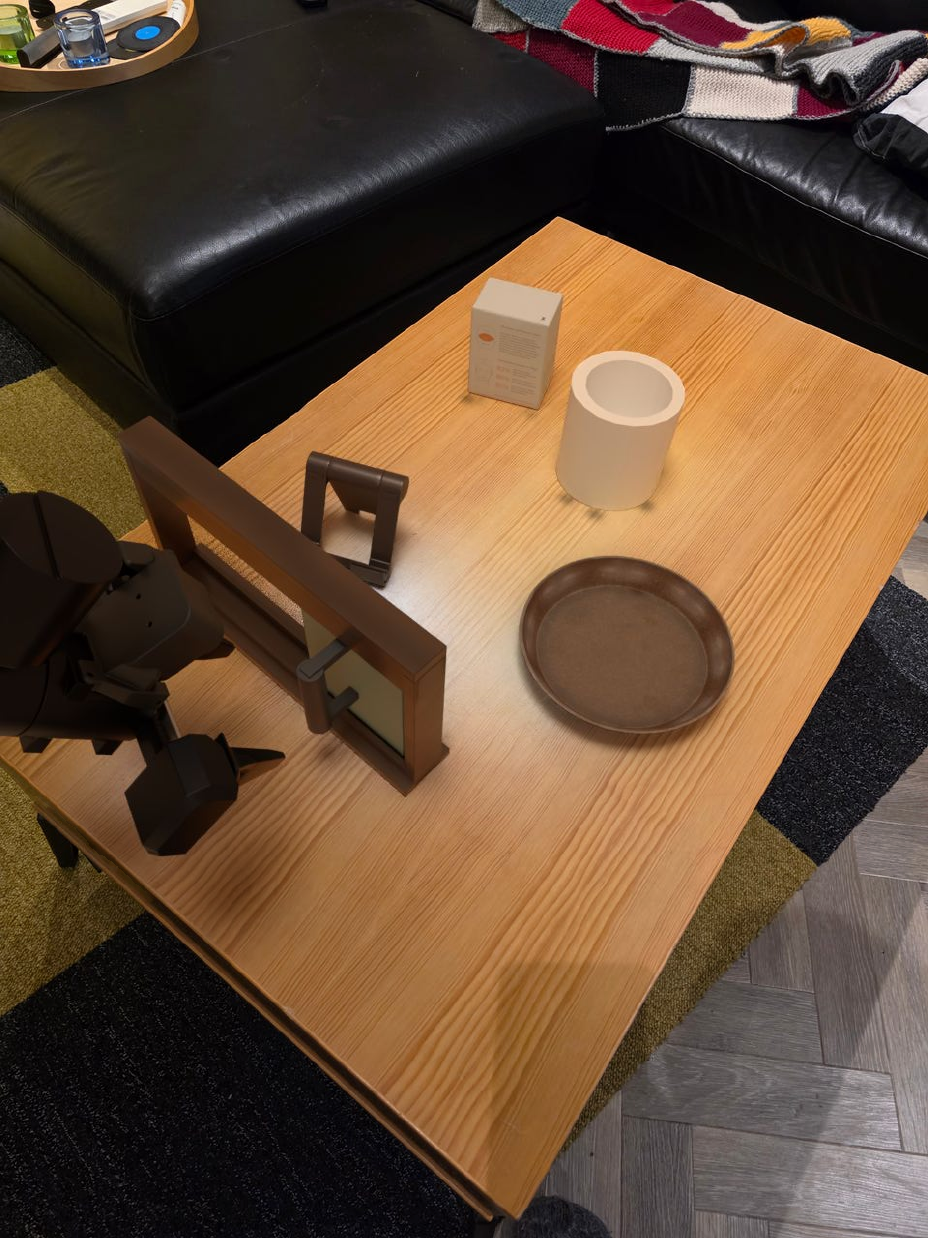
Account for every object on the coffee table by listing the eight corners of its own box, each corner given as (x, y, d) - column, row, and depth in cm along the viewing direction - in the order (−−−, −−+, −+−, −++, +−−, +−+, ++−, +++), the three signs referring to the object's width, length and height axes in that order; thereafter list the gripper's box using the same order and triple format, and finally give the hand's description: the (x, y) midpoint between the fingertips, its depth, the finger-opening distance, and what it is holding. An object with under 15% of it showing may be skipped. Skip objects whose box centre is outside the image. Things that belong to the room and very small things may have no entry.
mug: (578, 405, 92) (595, 319, 84) (673, 430, 91) (701, 345, 82) (543, 493, 85) (558, 408, 76) (646, 522, 83) (673, 438, 75)
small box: (552, 379, 95) (566, 293, 86) (538, 411, 92) (550, 326, 83) (482, 360, 96) (488, 274, 87) (465, 392, 93) (470, 306, 84)
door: (361, 796, 65) (352, 716, 55) (271, 714, 68) (247, 626, 58) (414, 746, 67) (414, 661, 57) (324, 670, 71) (309, 578, 61)
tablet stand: (290, 563, 78) (278, 499, 72) (325, 502, 83) (317, 436, 76) (383, 590, 77) (380, 527, 70) (413, 527, 82) (413, 462, 75)
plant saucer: (616, 544, 81) (623, 522, 79) (767, 670, 74) (779, 650, 72) (472, 643, 74) (474, 622, 72) (624, 794, 67) (632, 776, 64)
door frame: (405, 797, 66) (402, 685, 53) (157, 579, 77) (104, 441, 63) (449, 753, 68) (458, 636, 55) (203, 547, 79) (160, 408, 66)
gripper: (155, 726, 38) (393, 740, 50) (50, 451, 47) (273, 520, 59) (33, 872, 42) (281, 852, 54) (-42, 592, 51) (185, 629, 63)
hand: (255, 703), depth 58 cm, fingers open, 9 cm apart
